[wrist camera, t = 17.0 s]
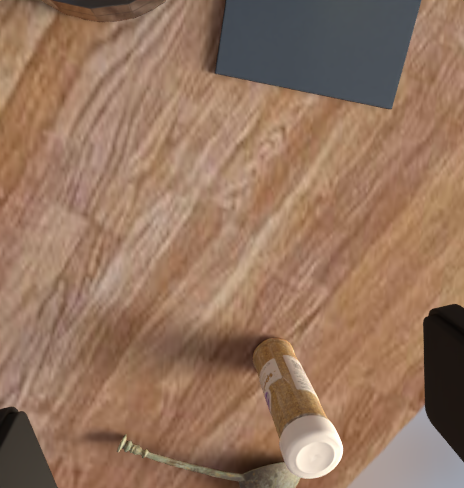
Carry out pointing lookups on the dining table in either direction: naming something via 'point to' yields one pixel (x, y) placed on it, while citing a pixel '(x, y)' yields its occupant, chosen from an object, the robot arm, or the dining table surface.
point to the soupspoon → (251, 483)
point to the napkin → (319, 45)
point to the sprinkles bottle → (296, 411)
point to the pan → (104, 8)
